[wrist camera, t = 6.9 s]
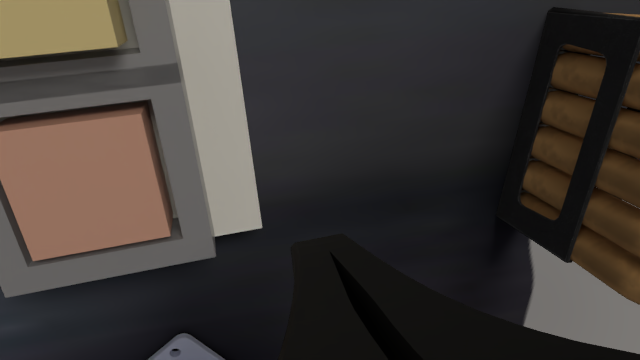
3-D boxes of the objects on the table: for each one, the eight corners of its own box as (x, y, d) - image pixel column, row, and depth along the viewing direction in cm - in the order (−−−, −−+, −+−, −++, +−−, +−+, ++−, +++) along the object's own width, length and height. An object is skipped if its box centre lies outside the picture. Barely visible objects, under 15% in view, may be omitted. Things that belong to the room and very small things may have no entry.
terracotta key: (173, 213, 17) (170, 236, 15) (49, 234, 16) (33, 261, 15) (146, 100, 15) (140, 113, 14) (6, 118, 14) (-18, 134, 13)
